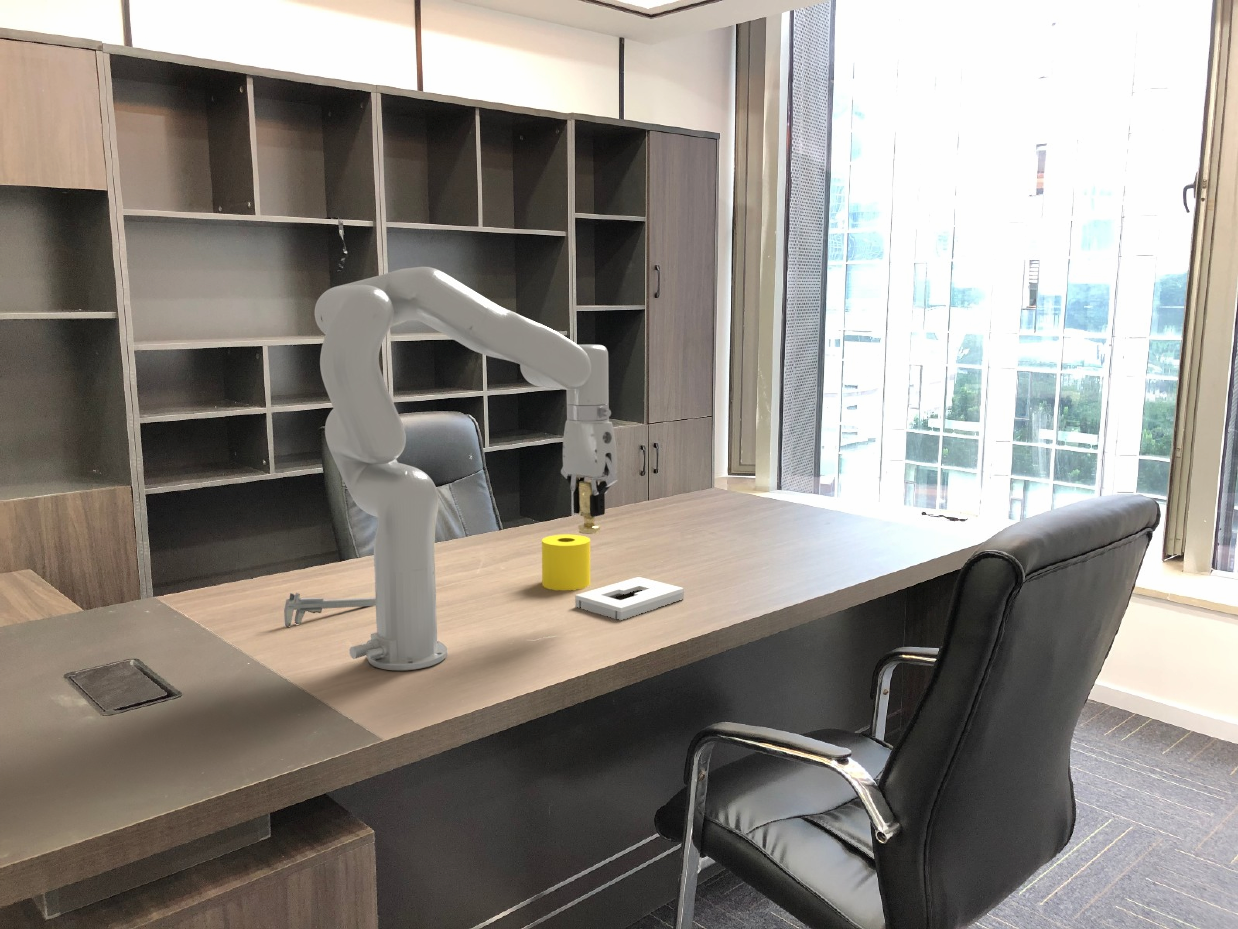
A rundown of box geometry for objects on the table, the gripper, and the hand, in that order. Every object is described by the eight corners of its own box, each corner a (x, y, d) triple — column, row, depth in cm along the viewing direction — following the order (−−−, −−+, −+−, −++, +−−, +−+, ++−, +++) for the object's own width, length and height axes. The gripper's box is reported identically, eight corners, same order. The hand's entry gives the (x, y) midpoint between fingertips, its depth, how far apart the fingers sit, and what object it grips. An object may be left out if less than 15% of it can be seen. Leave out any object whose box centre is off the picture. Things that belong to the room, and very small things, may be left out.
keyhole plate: (621, 620, 174) (621, 608, 173) (575, 607, 182) (575, 595, 181) (683, 599, 186) (683, 588, 186) (638, 588, 195) (638, 576, 194)
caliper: (288, 629, 169) (286, 595, 168) (285, 628, 170) (283, 594, 169) (384, 604, 184) (383, 572, 183) (381, 603, 185) (380, 571, 184)
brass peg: (589, 535, 171) (588, 484, 169) (573, 531, 173) (573, 482, 172) (604, 531, 174) (604, 481, 172) (589, 528, 176) (588, 479, 175)
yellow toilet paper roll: (560, 575, 204) (559, 532, 203) (599, 582, 199) (599, 538, 198) (532, 586, 196) (532, 541, 195) (573, 593, 191) (572, 547, 189)
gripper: (636, 415, 167) (636, 517, 170) (571, 409, 178) (572, 504, 181) (606, 418, 162) (607, 524, 165) (541, 412, 173) (543, 510, 176)
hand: (589, 512), depth 173 cm, fingers closed on brass peg, 3 cm apart
